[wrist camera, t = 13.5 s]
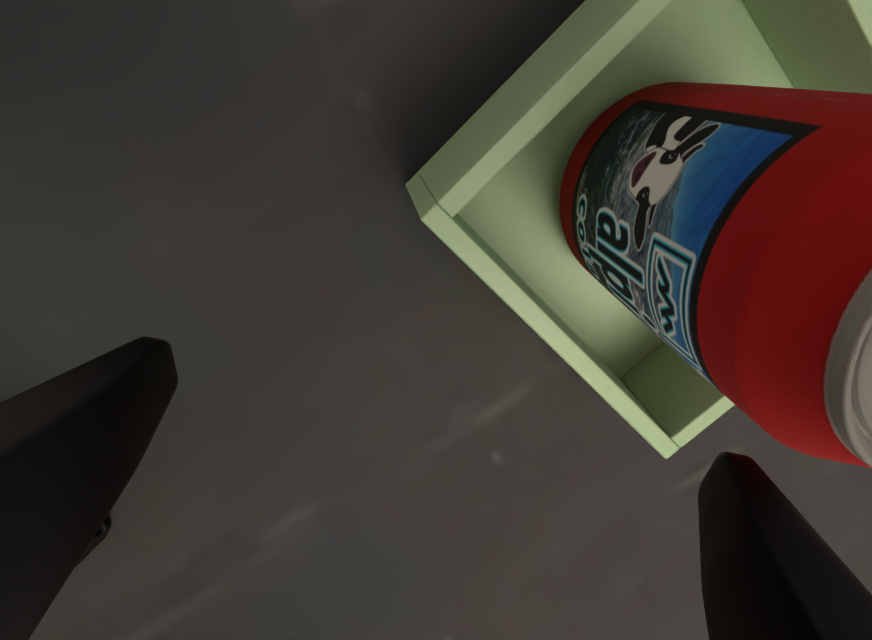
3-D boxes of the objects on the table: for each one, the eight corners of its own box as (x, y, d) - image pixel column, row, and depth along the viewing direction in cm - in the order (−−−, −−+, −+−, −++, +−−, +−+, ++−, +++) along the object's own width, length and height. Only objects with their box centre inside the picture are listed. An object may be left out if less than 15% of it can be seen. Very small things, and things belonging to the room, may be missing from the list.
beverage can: (527, 121, 18) (786, 215, 8) (732, 48, 18) (1290, 36, 8) (573, 308, 21) (808, 569, 10) (750, 245, 21) (1172, 441, 10)
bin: (611, 390, 24) (666, 460, 20) (404, 184, 19) (420, 219, 15) (860, 180, 21) (980, 209, 17) (690, -109, 17) (799, -160, 13)
